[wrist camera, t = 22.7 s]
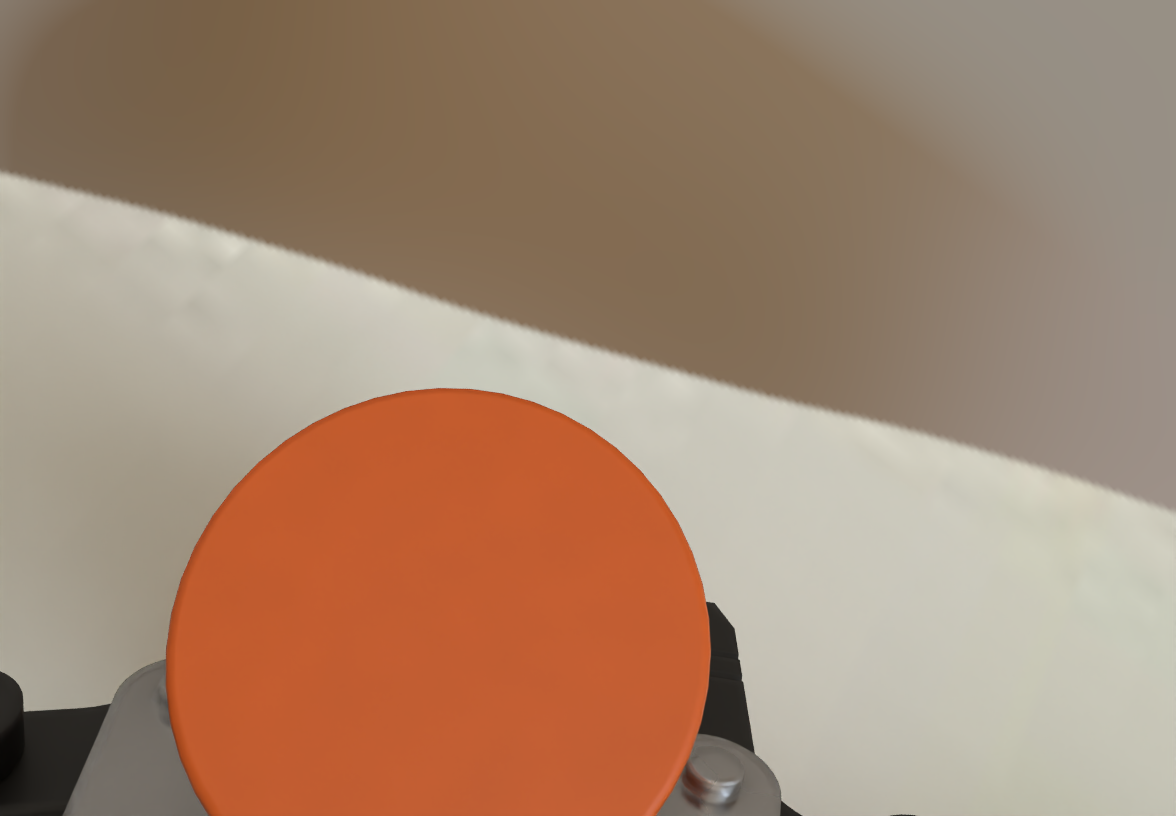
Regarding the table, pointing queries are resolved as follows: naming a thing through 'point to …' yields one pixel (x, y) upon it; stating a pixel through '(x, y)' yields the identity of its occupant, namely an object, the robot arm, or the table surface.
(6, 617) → the table surface
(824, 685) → the table surface
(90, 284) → the table surface
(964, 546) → the table surface
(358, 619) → the orange screwdriver
